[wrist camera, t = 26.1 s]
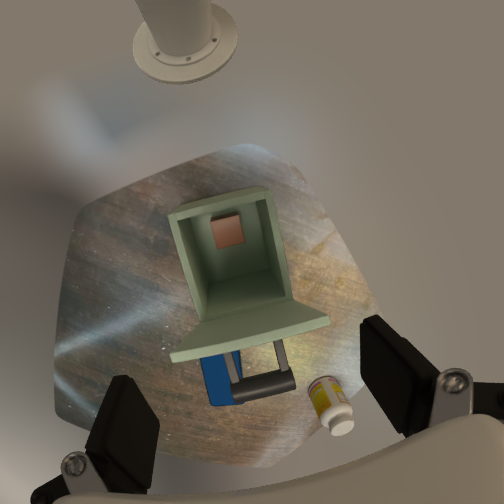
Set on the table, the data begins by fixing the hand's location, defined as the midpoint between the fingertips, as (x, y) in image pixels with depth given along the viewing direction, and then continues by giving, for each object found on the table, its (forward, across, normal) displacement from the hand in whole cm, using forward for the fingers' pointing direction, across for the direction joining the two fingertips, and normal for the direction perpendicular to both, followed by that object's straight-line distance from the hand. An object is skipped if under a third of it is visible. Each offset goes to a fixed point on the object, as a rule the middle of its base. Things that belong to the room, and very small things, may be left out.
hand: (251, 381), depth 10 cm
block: (+33, 0, 0) cm, 33 cm away
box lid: (+15, 0, +6) cm, 16 cm away
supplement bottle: (+34, -11, +38) cm, 52 cm away
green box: (+34, 0, +2) cm, 34 cm away
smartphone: (+34, +8, +28) cm, 45 cm away
